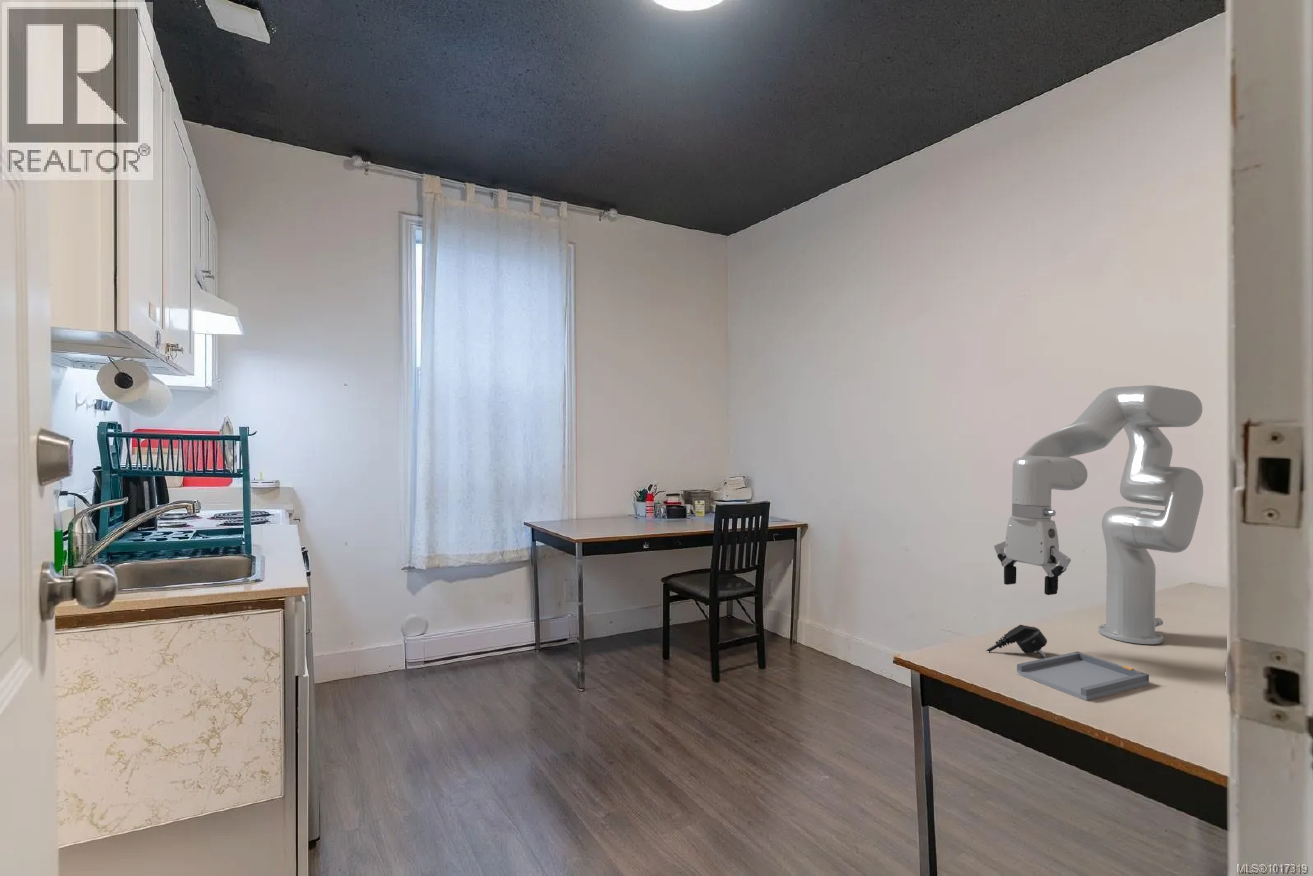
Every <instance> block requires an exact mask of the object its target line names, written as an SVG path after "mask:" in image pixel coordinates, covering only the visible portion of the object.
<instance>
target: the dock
mask: <svg viewBox="0 0 1313 876" xmlns="http://www.w3.org/2000/svg"><path fill="white" fill-rule="evenodd" d="M1017 673H1019V674H1021V675H1022V677H1024V678H1027V679H1029V678H1031V679H1030V680H1032V681H1034V682H1037V683H1039V682H1040V684H1042V685H1044V686H1047V687H1050V688H1052V689H1055V690H1058V691H1060V692H1063V693H1065V694H1068V695H1070V696H1073V697H1075V698H1079V699H1081V700H1083V701H1086V702H1087V701H1091V700H1095V699H1099V698H1102V697H1106V696H1109V695H1115V694H1117V693H1122V692H1126V691H1129V690H1134V689H1136V688H1140V687H1141V688H1142V687H1145V686H1148V685H1150V674H1148V673H1145V672H1142V671H1139V670H1137V669H1134V667H1131V666H1128V665H1121V664H1117V663H1114V662H1111V661H1108V660H1105V659H1103V658H1099V657H1095V656H1092V655H1090V654H1087V653H1083V652H1079V651H1073V652H1068V653H1065V654H1064V653H1063V654H1059V655H1054V656H1049V657H1045V658H1040V659H1035V660H1030V661H1027V662H1022V663H1017V664H1016V674H1017ZM1019 674H1018V675H1019ZM1021 675H1020V676H1021Z"/></svg>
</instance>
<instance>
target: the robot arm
mask: <svg viewBox="0 0 1313 876" xmlns="http://www.w3.org/2000/svg"><path fill="white" fill-rule="evenodd" d="M1202 414H1203V403H1202V401H1201V400H1200V398H1199V397H1198V395H1196V394H1195V393H1194V392H1191V391H1189V390H1185V389H1178V388H1173V387H1168V386H1162V385H1161V386H1160V385H1151V384H1150V385H1149V384H1147V385H1133V386H1131V385H1130V386H1129V385H1128V386H1117V387H1116V386H1115V387H1111V388H1107V389H1105V390H1103V391H1101V393H1099V394H1098V395H1097V397H1096V398H1095V399H1093V401H1092V402H1091V403H1090V404H1089V405H1088V407H1086V409H1085V410H1084V411H1083V412H1082V413H1081V414H1080V415H1079V416H1078V418H1076V420H1075V421H1073V422H1072V423H1070V424H1068V425H1066V426H1063V427H1061V428H1059V429H1057V430H1056V431H1055V430H1054V431H1053V432H1051V433H1049V434H1047V435H1046V436H1043V437H1041V438H1040V439H1038V440H1037V441H1036V442H1034V443H1033V444H1032V445H1031V446H1029V448H1028V449H1027V450H1026V451H1025V452H1024V454H1023V455H1022V456H1021V457H1017V458H1015V459H1014V460H1013V463H1012V478H1011V479H1012V486H1011V487H1012V488H1011V491H1012V493H1011V494H1012V495H1011V516H1009V519H1008V522H1007V527H1006V534H1005V541H1003V542H1000V543H997V544H994V550H995V552H996V555H997V559H998V560H999V561H1000V563H1001V564H1000V565H1001V566H1002V567H1003V584H1004V585H1007V586H1008V585H1015V584H1017V566H1014V565H1016V564H1017V562H1018V563H1022V564H1028V565H1032V566H1036V567H1037V566H1039V567H1042V569H1043V570H1044V573H1046V574H1047V575H1045V576H1044V591H1043V592H1044V594H1045V595H1046V596H1051V595H1052V596H1053V595H1057V593H1058V590H1059V577H1062V574H1063V573H1064V572H1065V571H1067V569H1068V567H1069V565H1070V563H1071V561H1072V560H1071V558H1070V557H1069V556H1067V555H1066V554H1064V553H1063V552H1061V550H1060V543H1059V534H1058V529H1057V526H1056V521H1055V520H1053V519H1052V517H1055V516H1056V515H1057V513H1056V510H1055V509H1052V490H1054V491H1055V490H1056V491H1074V490H1077V489H1080V488H1081V487H1082V486H1084V484H1086V481H1087V479H1088V469H1087V467H1086V465H1085V464H1084V463H1083V462H1082V461H1081V460H1080V459H1078V458H1074V456H1079V455H1084V454H1089V453H1092V452H1095V451H1099V450H1102V449H1105V448H1106V447H1107V446H1109V444H1111V442H1112V441H1113V440H1114V439H1115V438H1116V437H1117V435H1118V434H1119V433H1120V432H1121V430H1123V429H1124V432H1125V433H1126V436H1127V439H1128V442H1129V447H1128V453H1127V457H1126V460H1125V464H1124V468H1123V472H1122V476H1121V479H1120V484H1119V485H1120V486H1119V493H1120V496H1121V497H1122V498H1123V500H1125V501H1128V502H1131V503H1134V504H1141V505H1147V506H1148V505H1149V506H1150V505H1151V506H1160V507H1164V510H1162V509H1153V508H1146V507H1137V506H1126V505H1125V506H1124V505H1123V506H1115V507H1112V508H1110V509H1108V510H1107V511H1106V512H1104V515H1103V517H1102V520H1101V528H1102V535H1103V539H1104V544H1105V550H1106V551H1105V552H1106V554H1105V555H1106V584H1105V585H1106V586H1105V587H1106V589H1105V590H1106V592H1105V593H1106V600H1105V601H1106V604H1105V605H1106V607H1105V610H1106V612H1105V613H1106V614H1105V615H1106V618H1105V624H1104V623H1103V624H1100V625H1099V626H1098V632H1099V634H1101V635H1102V636H1104V637H1106V638H1109V639H1113V640H1116V641H1120V642H1125V643H1130V644H1139V645H1159V644H1162V643H1163V642H1164V636H1163V635H1162V634H1161V633H1159V632H1158V631H1156V627H1160V626H1163V624H1164V620H1163V619H1162V618H1161V617H1156V574H1157V571H1156V565H1155V561H1154V559H1153V557H1152V556H1151V554H1150V552H1149V551H1148V550H1153V551H1158V552H1163V553H1172V554H1175V553H1181V552H1184V551H1185V550H1187V548H1188V547H1189V546H1190V545H1191V542H1192V541H1193V537H1194V534H1195V533H1194V532H1195V529H1196V526H1197V522H1198V518H1199V515H1200V510H1201V506H1202V501H1203V497H1204V484H1203V480H1202V478H1201V476H1200V475H1199V474H1198V472H1196V471H1195V470H1193V469H1191V468H1188V467H1183V466H1171V461H1172V457H1173V451H1174V450H1173V445H1172V444H1171V442H1170V441H1169V439H1168V437H1167V436H1166V435H1165V434H1164V433H1163V432H1162V430H1161V429H1160V428H1187V427H1191V426H1193V425H1194V424H1196V423H1198V421H1199V420H1200V419H1201V416H1202Z"/></svg>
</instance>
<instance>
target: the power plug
mask: <svg viewBox="0 0 1313 876" xmlns="http://www.w3.org/2000/svg"><path fill="white" fill-rule="evenodd" d="M1015 643H1016V644H1017V646H1018V647H1019V649H1021V651H1022V652H1023V653H1025V654H1033V653H1035V652H1036V654H1038V655H1040V657H1041V658H1042V659H1044V658H1047V657H1046V655H1045V653H1044V652H1043V650H1042V648H1043V647H1045V646H1046V645H1047V643H1048V639H1047V638H1046V637H1045V635H1044V634H1043V632H1042V631H1041V630H1040V629H1039V628H1038V627H1035V626H1029V625H1024V624H1019V625H1018V626H1016V627H1013V628H1012V629H1011V630H1009V631H1008V632H1007V633H1005V634H1004V635H1003V636H1001V637H1000V638H999V639H998V640H996V641H995V644H994V645H992V646H991V647H989V648H987V649H986V652H987V651H989V653H990V651H991V652H992V651H994V650H996V649H997V648H999V649H1002V648H1003V647H1004V648H1005V646H1006V647H1007V646H1010V644H1011V645H1012V644H1015Z"/></svg>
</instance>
